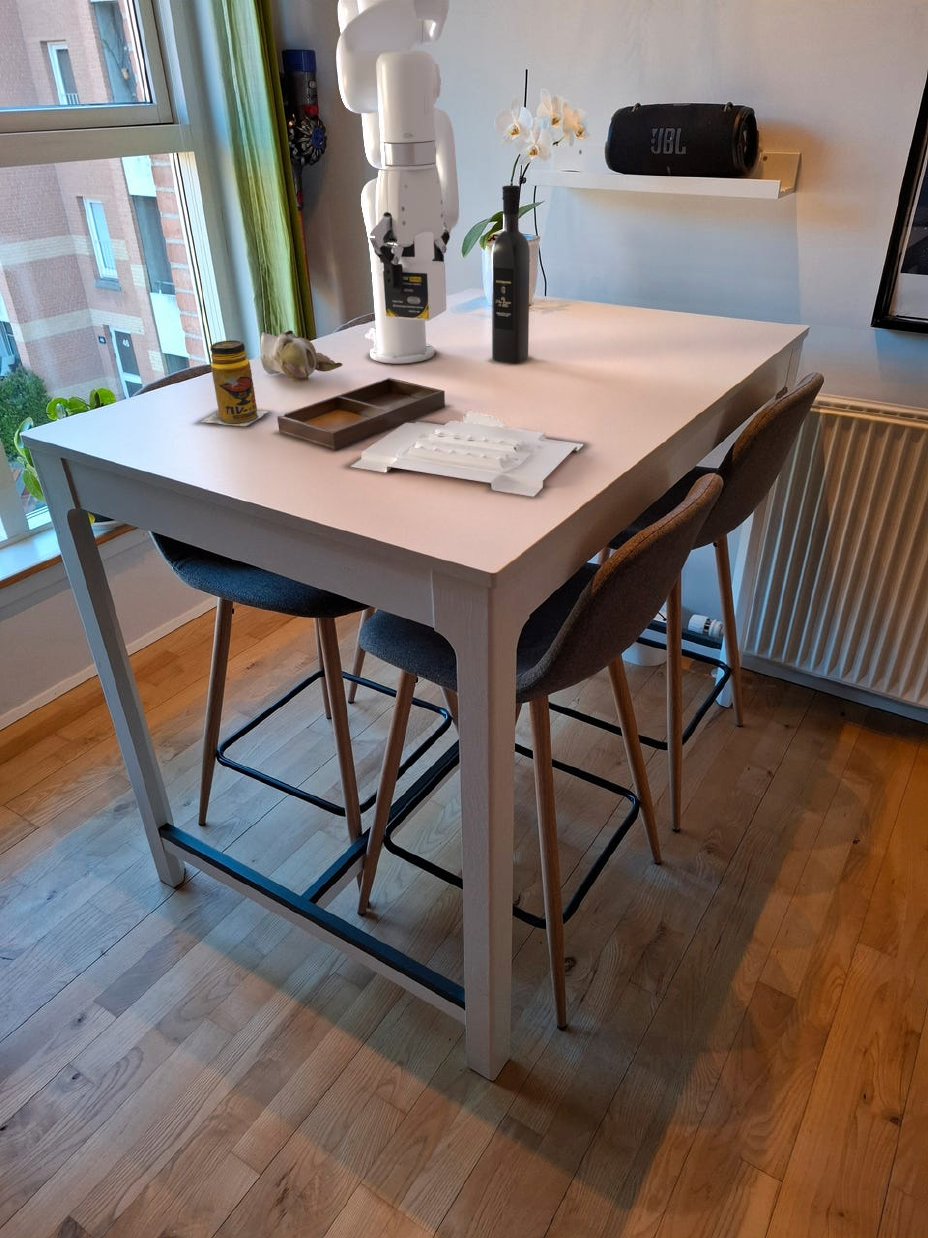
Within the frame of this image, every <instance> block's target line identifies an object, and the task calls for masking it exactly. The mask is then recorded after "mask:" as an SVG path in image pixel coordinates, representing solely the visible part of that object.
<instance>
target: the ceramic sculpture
mask: <svg viewBox="0 0 928 1238" xmlns="http://www.w3.org/2000/svg"><path fill="white" fill-rule="evenodd" d="M259 358H260V362H261V366H262V369H263V370H264V372H266V373H267V374H268V375H278V374H282V375H285V376H287V378H288V379H290V380H291V381H292V382H296V383H304V382H306V381H308V380H309V379H310V378H309V376H311V375H312V374H313V373H314V372H315V371H318V372H330V371H333V370H335V369H336V370H337V369H338V368H341V367H342V366H343V363H342V362H335V360H333V359H331V358H330V357H329V356H328V355H326V354H325V355H324V354H323V353H322V352H317V350H316V348H315V345H314V344H313V342H312V341H310V340H309V339H307V338H305V337H303V336H302V337H300V336H296V334H295V333H294V331H293V330H286V331H283V332H281V333H280V334H279V335H278V336H277V335H274V334H270V333H266V332H264V331H263V332H262V333H261V336H260V356H259Z"/></svg>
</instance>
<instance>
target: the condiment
mask: <svg viewBox="0 0 928 1238" xmlns="http://www.w3.org/2000/svg"><path fill="white" fill-rule="evenodd" d="M209 351H210V352H211V355H210V357H211V360H212V361H211V363H210V369H211V375H212V381H213V386H214V393H215V398H216V404H217V407H218V408H217V409H218V410H217V411H216V412H215V413H213V414H211V415H210V416H207V417H206V418H205V419H203V420H201V421H200V423H207V424H219V425H224V426H233V427H235V426H236V427H247V426H249V425H251V424H253V423H254V422H256V421H257V420H259V419H260V418H262V417H263V416H264V415H265V414H266V413H268V412H269V411H268V410H258V407H257V406H258V405H257V401H256V400H257V399H256V393H255V387H254V382H253V376H252V375H253V373H252V368H251V367H252V366H251V362H250V360H249V359H248V358H247V351H246V346H245V344H244V342H242V341H240V340H233V339H230V340H229V339H228V340H220V341H217V342H214V343H212V344H211V345H210V350H209Z"/></svg>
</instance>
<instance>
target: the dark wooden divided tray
mask: <svg viewBox="0 0 928 1238" xmlns="http://www.w3.org/2000/svg"><path fill="white" fill-rule="evenodd" d="M445 407H446V396H445V390H442V389H438V388H435V387H430V386H426V385H422V384H417V383H414V382H409V381H405V380H401V379H396V378H392V377H387V378H383V379H381V380H378V381H375V382H373V383H370V384H366V385H364V386H360V387H358V388H355V389H353V390H349V391H347V392H344V393H340V394H338V395H335V396H332V397H329V398H326V399H323V400H321V401H317V402H315V403H312V404H308V405H306V406H302V407H301V408H300V407H299V408H297V409H294V410H291V411H288V412H285V413H283V414H279V415H277V416H276V420H277V426H278V433H279V434H281V435H284V436H288V437H291V438H294V439H297V440H300V441H303V442H307V443H310V444H312V445H313V444H314V445H316V446H319V447H322V448H325V449H329V450H332V451H337V450H340V449H342V448H345V447H348V446H351V445H352V444H355V443H358V442H360V441H363V440H365V439H367V438H371V437H373V436H375V435H377V434H380V433H383V432H385V431H388V430H390V429H392V428H395V427H397V426H398V427H399V426H401V425H403V424H405V423H409V421H412V420H415V419H417V418H420V417H423V416H425V415H427V414H430V413H433V412H435V411H437V410H440V409H442V408H445Z"/></svg>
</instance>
